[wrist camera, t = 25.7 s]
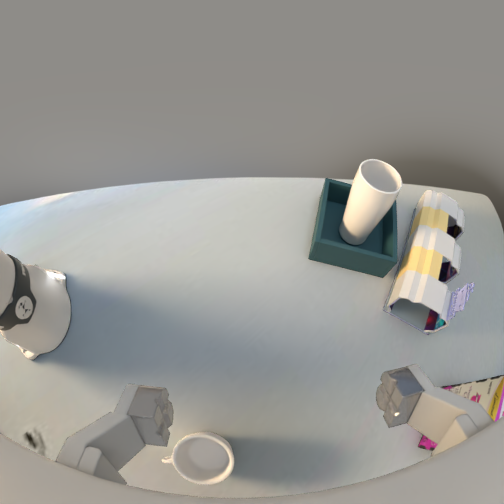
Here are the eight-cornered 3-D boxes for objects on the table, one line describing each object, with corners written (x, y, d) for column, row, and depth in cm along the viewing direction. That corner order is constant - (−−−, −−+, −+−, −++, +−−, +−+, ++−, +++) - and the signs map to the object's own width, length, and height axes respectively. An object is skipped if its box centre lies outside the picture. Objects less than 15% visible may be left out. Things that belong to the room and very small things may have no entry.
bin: (308, 259, 45) (314, 241, 40) (320, 198, 51) (325, 177, 46) (383, 277, 43) (397, 262, 38) (384, 216, 50) (395, 197, 44)
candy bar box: (437, 386, 33) (505, 371, 19) (456, 392, 32) (523, 378, 18) (415, 448, 29) (481, 459, 14) (435, 451, 28) (501, 460, 13)
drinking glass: (354, 212, 49) (380, 153, 36) (376, 239, 46) (411, 184, 33) (326, 226, 47) (348, 165, 34) (350, 256, 44) (382, 200, 31)
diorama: (428, 335, 38) (476, 311, 26) (382, 309, 41) (422, 277, 29) (450, 231, 48) (482, 194, 36) (414, 208, 51) (441, 166, 39)
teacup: (230, 424, 33) (226, 429, 28) (242, 470, 29) (240, 481, 25) (163, 432, 32) (150, 437, 27) (175, 477, 28) (165, 487, 24)
